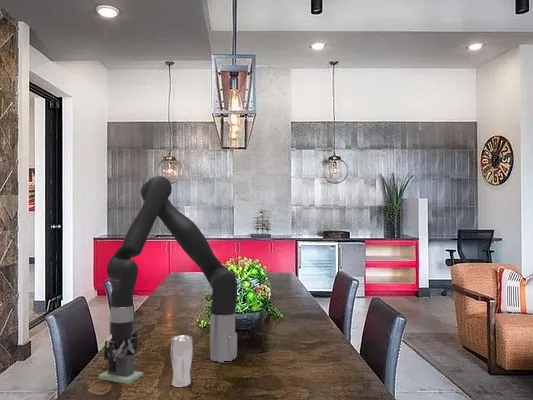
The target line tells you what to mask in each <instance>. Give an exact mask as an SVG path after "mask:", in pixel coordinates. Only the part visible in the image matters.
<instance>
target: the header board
mask: <svg viewBox="0 0 533 400" xmlns="http://www.w3.org/2000/svg"><path fill="white" fill-rule="evenodd" d="M97 375H98V378H97V379H98V380H103V381H104V380H105V381H108V382H109V381H110V382H115V383H120V384H122V383H123V384H127V385H129V384H131V383H133V382H134V380H135V381H137V380H139V379H140V378H139V377H141V376H142V377H144V372H142V371H137V370H134V374H132V375H130V376H128V377H124V376H117V375H111V374H108V370H106V371H104V372H102V373H99V374H97ZM142 377H141V378H142ZM138 378H139V379H138ZM136 379H137V380H136Z"/></svg>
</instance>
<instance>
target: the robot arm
mask: <svg viewBox="0 0 533 400" xmlns="http://www.w3.org/2000/svg"><path fill="white" fill-rule="evenodd" d="M172 186H173V185H172V183H171V181H170V180H169V179H168V178H167V177H165V176H163V175H157V176H154V177H152V178H150V179H149V180H147V181H146V182H145V183H144V184H143V185H141V188H140V196H141V198H142V200H143V201H144V203H143V204H142V206H141V208H140V210H139V212H138V214H137V215H136V217H135V218H134V220H133V221H132V222H131V225H130V226H129V228H128V230H127V232H126V234H125V237H124V239H123V241H122V244H121V245H120V247H119V248H118V249H117V250H116V251H115V252H114V254H113V255H112V256H111V257H110V259H109V261H108V263H107V265H106V274H107V277H108V278H110V279H111V280H116V281H120V284H119V286H118V287H114V288H113V289H112V290H111V292H110V293H111V294H110V295H111V296H110V312H109V334H110V335H111V336H112V337H111V340H105V342H104V350H103V351H104V352H103V354H104V355H103V360H105V361H107V362H108V361H109V371H110V372H113V373H114V372H116V358H117V356H118V355H119V354H121V352H122V351H124V350H125V352H126V353H125V354H127V355H134V353H135V351H137V350H138V333H137V332H136V331H135V332H134V290H135V287H136V284H137V280H138V276H139V267H138V264H137V262H136V261H135V260H132V259H133V258H135V257H138V256H140V255H141V253H142V252H143V249H144V247H145V244H146V242H147V241H148V240H147V239H148V237H149V235H150V233H151V231H152V229H153V226H154V224H155V221H156V219H157V217H158V218H159V219H160V221H161V222H162V224H164V226H165V227H166V229H167V230H168V231H169V233H170V234H171V235H172V236H173V238H174V239H175V241H176V242H177V244H178V245H179V246H180V247H181V249H182V250H183V251H184V253H186V255H187V256H188V258H190V259H191V261H192V262H194V263H195V264H196V265H197V267H198V268H199V269H200V270H201V272H202V273H203V274H204V276H205V278H206V280H207V281H208V284H209V286H210V287H211V291H212V294H211V297H212V298H211V305H210V329H209V330H210V333H209V335H210V336H209V337H210V338H209V339H210V341H209V343H210V345H209V349H210V350H209V351H210V352H209V359H211V360H210V361H212V360H213V361H212V362H214V361H218V362H217V363H225V362H224V361H231V362H233V361H234V360H236V359H237V358H238V333H237V332H236V309H237V308H236V307H237V305H238V304H237V303H238V298H237V297H238V281H237V277H236V276H235V274H234V273H232V271H229V270H228V269H227V267H226V266H224V264H222V263H221V261H220V260H219V259H218V258H217V257H216V255H215V253H214V252H213V250H212V248H211V246H210V244H209V242H208V240H207V238H206V237H205V235H204V234H203V232H202V231H201V230H200V228H199V227H198V225H197V224H196V223H195V222H194V221H193V220H191V219H190V218H189V217H188V216H186V215H184V214H183V213H182V212H180V211H179V210H178V209H177V208H176V207H175V206H174V205H173V204H172V202H171V201H170V199H169V198H170V196H171V194H172V190H173V187H172ZM113 354H114V357H113ZM108 355H109V356H108ZM236 357H237V358H236ZM235 358H236V359H235ZM233 359H234V360H233ZM232 360H233V361H232Z"/></svg>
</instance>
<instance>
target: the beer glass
mask: <svg viewBox="0 0 533 400" xmlns="http://www.w3.org/2000/svg"><path fill="white" fill-rule="evenodd" d="M170 343H171V344H170V360H171V367H172V381H171V386H172V385H173V386H175V387H183V386H187V385H189V384H190V383H191V384H192V381H191V367H192V363H193V362H192V361H193V354H194V352H193V351H194V348H193V346H194V345H193V344H194V343H193V337H192V336H190V335H184V334H183V335H175V336H172V337H171V341H170ZM173 386H172V387H173Z"/></svg>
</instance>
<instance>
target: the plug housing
mask: <svg viewBox="0 0 533 400" xmlns="http://www.w3.org/2000/svg"><path fill="white" fill-rule="evenodd" d="M108 356H109V354H108ZM113 357H114V354H113ZM107 371H108V374H111V375H117V376H124V377H128V376H130V375H132V374H134V371H135V355H134V354H133V355H127V354H126V353H120V354H119V355H118V356H117V358H116V372H114V373H113V372H110V371H109V361H108V360H107Z"/></svg>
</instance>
